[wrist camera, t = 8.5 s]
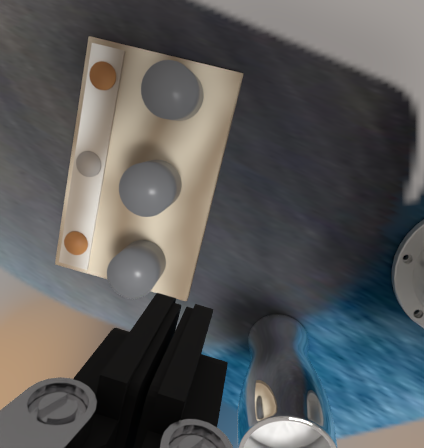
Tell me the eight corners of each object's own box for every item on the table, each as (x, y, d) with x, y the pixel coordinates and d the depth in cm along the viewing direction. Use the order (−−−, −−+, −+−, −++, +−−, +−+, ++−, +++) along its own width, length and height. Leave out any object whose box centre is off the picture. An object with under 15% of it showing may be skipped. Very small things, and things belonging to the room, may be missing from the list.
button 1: (208, 74, 33) (202, 67, 30) (197, 126, 34) (189, 125, 31) (160, 63, 34) (147, 53, 30) (150, 114, 35) (136, 111, 31)
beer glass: (240, 311, 39) (229, 414, 25) (310, 307, 38) (341, 413, 24) (247, 372, 41) (239, 503, 26) (314, 370, 40) (345, 505, 25)
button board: (243, 75, 34) (242, 72, 33) (188, 297, 40) (185, 303, 38) (93, 38, 35) (86, 34, 34) (59, 261, 41) (52, 265, 39)
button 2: (170, 246, 37) (159, 259, 34) (160, 287, 38) (149, 304, 35) (126, 234, 38) (111, 246, 34) (118, 275, 39) (103, 291, 35)
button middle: (186, 166, 34) (176, 170, 31) (175, 213, 36) (165, 223, 32) (139, 154, 35) (124, 156, 31) (130, 201, 36) (114, 209, 32)
